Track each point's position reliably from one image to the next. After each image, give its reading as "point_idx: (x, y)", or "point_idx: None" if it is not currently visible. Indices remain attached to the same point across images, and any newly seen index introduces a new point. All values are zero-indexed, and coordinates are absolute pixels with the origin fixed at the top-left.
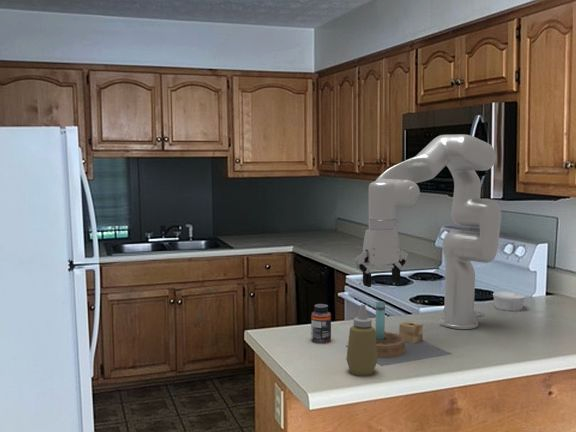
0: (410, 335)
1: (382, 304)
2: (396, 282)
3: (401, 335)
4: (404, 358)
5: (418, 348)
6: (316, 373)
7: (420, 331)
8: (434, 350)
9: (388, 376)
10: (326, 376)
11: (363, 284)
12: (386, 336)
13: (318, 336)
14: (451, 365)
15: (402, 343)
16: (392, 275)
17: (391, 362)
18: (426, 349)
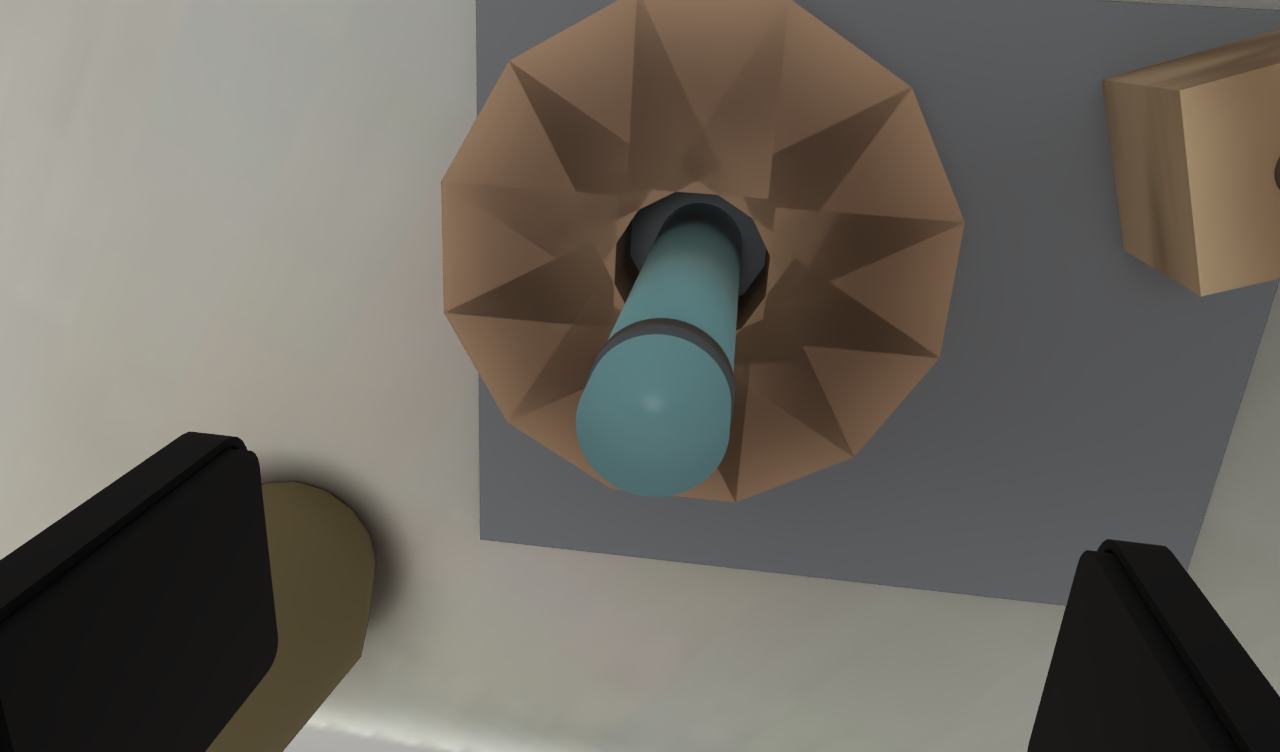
0: (1152, 234)
1: (640, 485)
2: (1034, 737)
3: (1127, 113)
4: (741, 510)
5: (1047, 382)
6: (14, 408)
7: None
8: (1124, 487)
9: (433, 670)
10: (61, 483)
11: (191, 437)
12: (796, 257)
13: None
14: (959, 738)
15: (803, 470)
16: (1143, 686)
17: (591, 525)
18: (1085, 437)
